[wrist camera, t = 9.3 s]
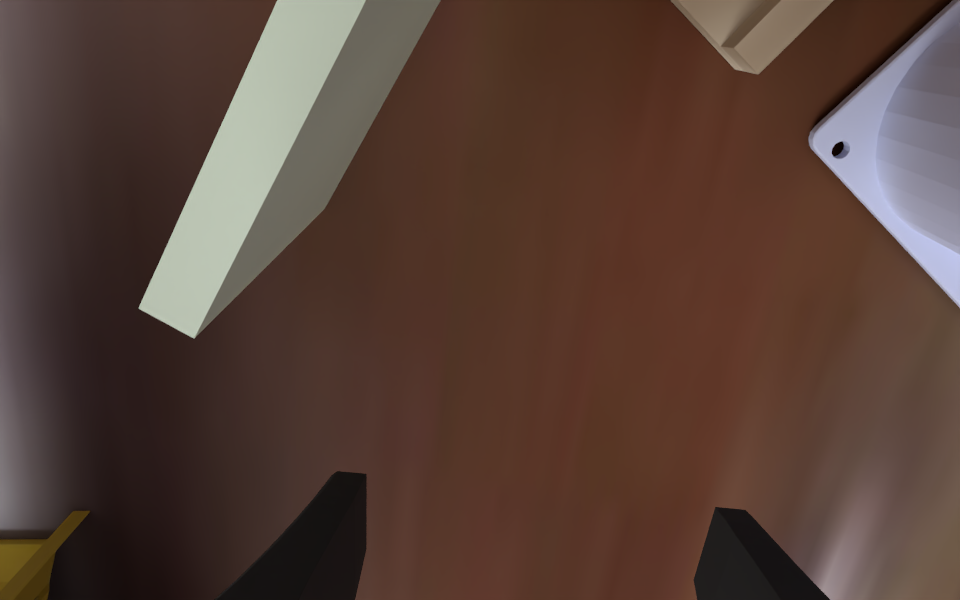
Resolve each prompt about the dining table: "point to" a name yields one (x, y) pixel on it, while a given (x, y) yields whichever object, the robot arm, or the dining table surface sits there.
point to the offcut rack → (750, 27)
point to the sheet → (282, 147)
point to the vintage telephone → (32, 562)
